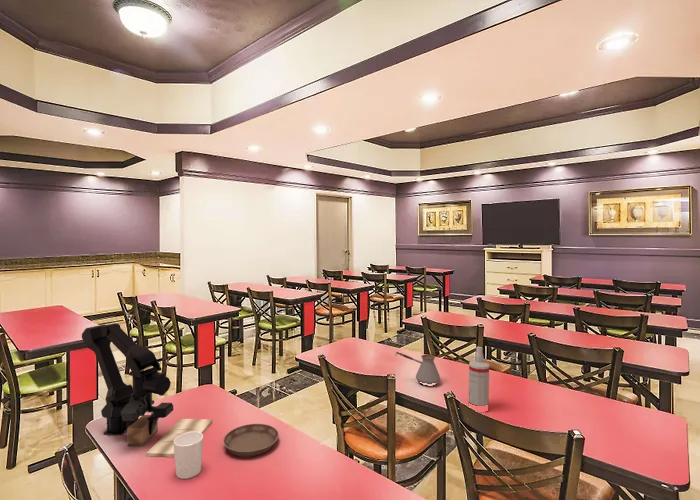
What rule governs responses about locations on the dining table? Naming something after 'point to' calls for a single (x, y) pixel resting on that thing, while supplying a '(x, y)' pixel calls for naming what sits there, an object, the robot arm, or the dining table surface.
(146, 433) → the block
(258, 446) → the plant saucer
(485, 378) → the grey nozzle bottle
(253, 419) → the dining table surface
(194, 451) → the white cup
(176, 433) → the board
